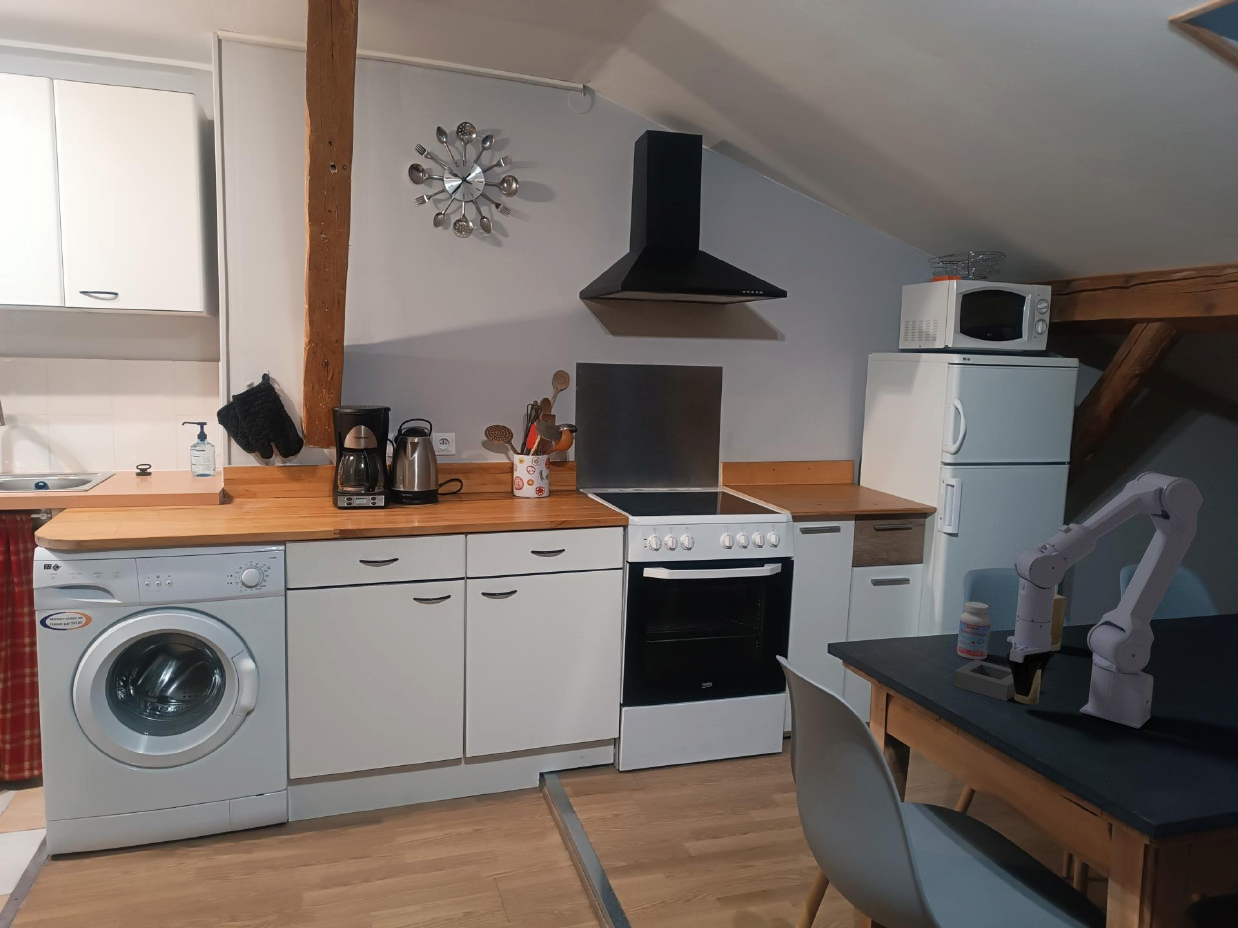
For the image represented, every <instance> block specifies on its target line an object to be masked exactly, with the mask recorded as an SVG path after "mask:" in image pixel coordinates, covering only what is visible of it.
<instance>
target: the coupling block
mask: <svg viewBox="0 0 1238 928" xmlns="http://www.w3.org/2000/svg"><path fill="white" fill-rule="evenodd" d="M952 686H953V687H956V688H959V689H964V690H965V691H970V692H973V693H977V694H979V695H983V696H986V697H991V698H993V699H997V700H1000V699H1001V700H1000V701H1004V702H1008V701H1009V700H1010V699H1012V698H1014V691H1015V688H1014V681H1013V675H1012V672H1011V669H1010V667H1009V668H1008V667H1005V666H1002V665H998V664H994V663H991V662H987V661H983V660H974V659H973V660H972V661H970V662H968V663H966V664H964V665H962V666H961V667H959V668H956V669H954V671H953V682H952ZM1008 699H1009V700H1008Z"/></svg>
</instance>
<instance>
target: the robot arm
mask: <svg viewBox="0 0 1238 928" xmlns="http://www.w3.org/2000/svg"><path fill="white" fill-rule="evenodd" d="M1203 502H1204V498H1203V497H1202V494H1201V492H1200V490H1199V488H1198V486H1197V485H1196V483H1194V481H1193V480H1190V479H1189V478H1185V477H1176V476H1171V475H1166V474H1162V473H1158V472H1157V471H1144V472H1143V473H1140V474H1139V475H1138V476H1137V477H1136V478H1135V479H1133V480H1131V481H1128V482H1127V483H1126V484H1125V487H1124V488H1123V490H1122V491H1121V492H1120V493H1118V494H1117V495H1116V496H1114V498H1112V499H1111V500H1110V501H1109V502H1108V503H1106V504H1105V505H1104V506H1103V507H1101V508H1100V509H1099V510H1098V511H1096V512H1095V513H1094V514H1093V515H1091V516H1090V517H1088V519H1087V520H1086V521H1084V522H1083V523H1082V524H1081V523H1080V524H1079V523H1070V524H1069V525H1067V524H1063V525H1061V526H1060V527H1059V528H1058V530H1059V532H1057V533H1056V534H1055V535H1053V536H1051V537H1050V538H1049V539H1047V541H1044V543H1043V542H1040V543H1039V544H1037V548H1036V549H1034V548H1033V549H1028V550H1026V551H1024V552H1022V553H1021V554H1020V555H1019V557H1018V560H1017V561H1016V562H1014V565H1013V569H1014V572H1015V573H1016V575H1017V576H1018V578H1019V584H1018V591H1017V592H1018V595H1017V606H1016V614H1015V615H1016V616H1015V626H1014V635H1009V636H1008V637H1007V638H1006V642H1008V643H1012V647H1011V649H1010V652H1007V653H1006V654H1005V659H1006V662H1007V664H1008V666H1009V669H1011V672H1012V675H1013V681H1014V688H1015V693H1016V694H1018V695H1021V696H1025V697H1028V696H1029V694H1030V692H1031V689H1032V684H1033V680H1034V677H1035V674H1036V672H1037V670H1038V668H1039V667H1040V668H1041V669H1042V670H1041V681H1040V685H1041V684H1042V680H1043V678H1044V675H1045V672H1046V669H1047V667H1048V666H1049V664H1050V663H1051V661H1052V660H1053V658H1054V657H1055V651H1049V650H1050V647H1051V635H1050V634H1051V624H1052V614H1053V603H1054V593H1055V594H1056V592H1055V590H1056V586H1057V585H1060V583H1062V581H1063V579H1064V577H1065V573H1066V572H1067V571H1068V570H1069V568H1071V567H1072V566H1074V565H1075V564H1076V563H1078V562H1079V561H1080V560H1082V559H1084V558H1085V557H1086V556H1088V555H1089V554H1090V553H1091V552H1094V551H1095V550H1096V547H1097V540H1098V539H1099V538H1101V537H1102V536H1104V535H1106V534H1107V533H1109V532H1110V531H1112V530H1113V529H1115V528H1117V527H1119V526H1120V525H1122V524H1123V523H1125V522H1127V521H1128V520H1130V519H1132V518H1133V517H1135V516H1136V515H1149V517H1150V519H1151V520H1152V523H1153V525H1154V526H1155V529H1156V531H1155V533H1154V535H1153V537H1152V539H1151V540H1150V543H1149V544H1148V546H1147V549H1146V551H1145V552H1144V555H1143V557H1142V559H1141V561H1140V562H1139V564H1138V566H1137V568H1136V569H1135V572H1134V574H1133V575H1132V578H1131V579H1130V582H1129V584H1128V585H1127V587H1126V589H1125V592H1124V594H1122V595H1123V596H1122V597H1121V599H1120V601H1119V603H1118V605H1117V607H1116V608H1114V609H1113V610H1110V611H1108V612H1106V613H1104V614H1103V616H1102V617H1101V619H1100V620H1099V622H1098V623H1097V624H1095V625H1094V626H1093V627H1092V628H1091V629H1090V630H1089V631H1088V634H1087V639H1086V643H1087V646H1088V648H1089V650H1090V651H1091V652H1092V669H1091V674H1090V675H1091V678H1090V684H1089V686H1090V687H1089V696H1088V702H1087V703H1086V704H1085V705H1084V706H1083V707H1081V708H1080V709H1079V712H1080V713H1082V714H1086V715H1090V716H1092V717H1097V718H1099V719H1103V720H1106V721H1110V722H1114V723H1118V724H1120V725H1125V726H1128V727H1131V728H1135V729H1140V728H1141V727H1142V726H1143V725H1144V724H1146V722H1147V721H1148V720H1149V719H1150V718H1151V708H1152V700H1153V699H1152V698H1153V691H1154V677H1153V675H1152V674H1148V673H1145V672H1143V671H1142V669H1144V668H1145V667H1146V666H1148V663H1149V661H1150V659H1151V647H1152V644H1153V643H1154V641H1155V635H1154V633H1153V631H1152V627H1151V624H1150V623H1151V621H1152V619H1153V617H1154V615H1155V613H1156V611H1157V609H1158V607H1159V605H1160V604H1161V602H1162V600H1163V598H1164V597H1165V594H1166V592H1167V591H1168V588H1169V586H1170V584H1171V583H1172V581H1173V580H1174V577H1175V575H1176V573H1177V571H1178V570H1179V567H1180V565H1181V563H1182V562H1183V559H1184V558H1185V555H1186V554H1187V553H1188V550H1189V548H1190V546H1191V544H1192V542H1193V541H1194V538H1195V537H1196V533H1197V528H1198V513H1199V510H1200V508H1201V506H1202V504H1203Z"/></svg>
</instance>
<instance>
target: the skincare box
mask: <svg viewBox="0 0 1238 928" xmlns="http://www.w3.org/2000/svg"><path fill="white" fill-rule="evenodd" d="M1067 599H1068V597H1066V596H1063V595H1060V594H1057V593H1056V592H1055V593H1054V603H1053V614H1052V624H1051V634H1050V635H1051V647H1050V650H1049V651H1053V652H1057V651H1060V650H1061V646H1062V637H1063V631H1064V630H1063V629H1064V623H1065V615H1066V607H1067V601H1068V600H1067Z"/></svg>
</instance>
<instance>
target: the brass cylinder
mask: <svg viewBox="0 0 1238 928" xmlns="http://www.w3.org/2000/svg"><path fill="white" fill-rule="evenodd" d="M1041 670H1042V669H1041V668H1040V667H1039V668H1038V670H1037V672H1036V674H1035V677H1034V680H1033V684H1032V689H1031V692H1030V694H1029V696H1028V697H1025V696H1021V695H1018V694H1016V693H1015V691H1014V696H1013V699H1014V700H1015V701H1016V702H1019V703H1022V704H1027V705H1037V704H1039V700H1040V699H1039V698H1040V690H1041V684H1040V681H1041ZM1041 682H1042V681H1041Z"/></svg>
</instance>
